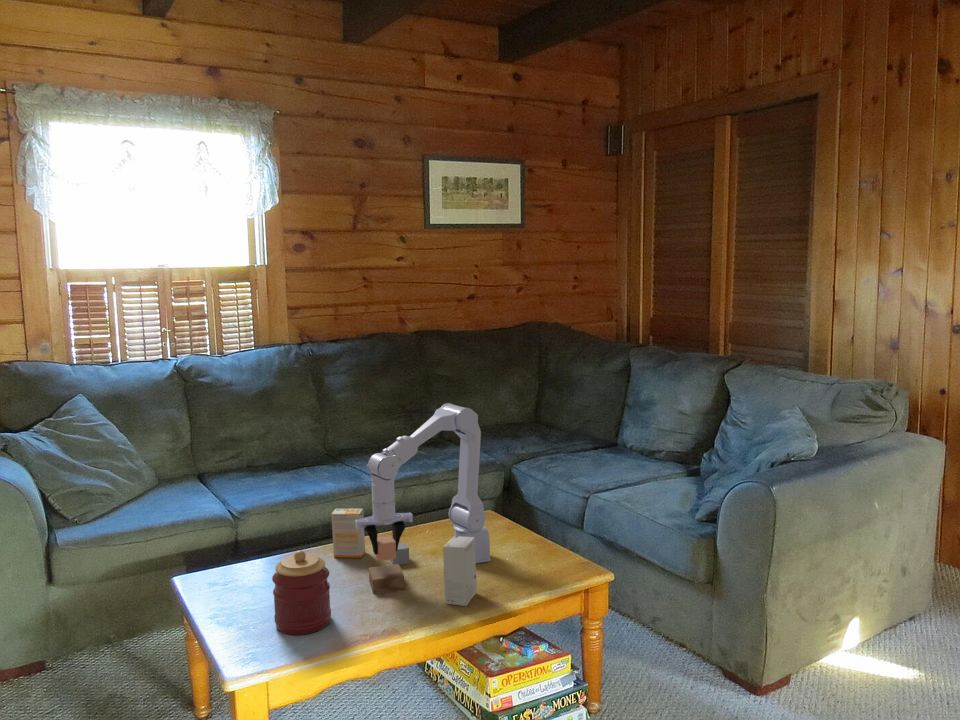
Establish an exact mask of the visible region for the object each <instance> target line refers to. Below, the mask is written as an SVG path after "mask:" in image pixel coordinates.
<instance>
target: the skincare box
mask: <svg viewBox="0 0 960 720" xmlns="http://www.w3.org/2000/svg"><path fill="white" fill-rule="evenodd" d="M442 552H443V554H442V555H443V581H444V583H443V584H444V586H443V587H444V603H445V604H447V605H456V606H460V607H467V606H468V604H469V603H470V602H471V600H472V599H473V598H474V597H475V596H476V594H477V591H478V590H477V588H478V587H477V570H476V569H477V567H476V564H477V563H476V560H475V538H474V537H461V536H452V538H451V539H449V540H448V541H447V543H445V544H444V546H442Z"/></svg>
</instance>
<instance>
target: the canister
mask: <svg viewBox="0 0 960 720" xmlns="http://www.w3.org/2000/svg"><path fill="white" fill-rule="evenodd" d="M329 576H330V570H329V568H327V567H326V561H325V560H324V559H323V558H321V557H320V556H317V555H315V554H312V553H305V551H304V550H301V549H300V550H297V551H295V553H294V554H292V555H289V556H287V557H284V558H283V559H282V560H281V561H280V562H278V563H277V564H276V565H275V572H274V573H273V575H272V577H271V580H272V582H273V583H274V588H273V590H272V595H273V601H274V616H273V617H274V624H275V626H276V629H277V630H278V631H279V632H281V633H284V634H286V635H294V636H299V635H308V634H313V633H315V632H318V631H320V630H322V629H324V628H326V626H328V625H329V624H330V622H331V616H332V608H331V597H330V588H331V584H330V582H328V577H329Z"/></svg>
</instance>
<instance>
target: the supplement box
mask: <svg viewBox="0 0 960 720" xmlns="http://www.w3.org/2000/svg"><path fill="white" fill-rule="evenodd" d="M362 518H364V508H338V507H337V508H335V509H334V510H333V511H332V512H331V530H332V544H333V545H332V546H333V558H344V559H345V558H347V559H348V558H349V559H351V558H353V559H354V558H355V559H357V558H358V559H362V558H363V556H364V555H365V553H366V538H365V527H364V528H361V529H357V528H356V525H355V520H357V519H362Z"/></svg>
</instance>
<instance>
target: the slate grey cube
mask: <svg viewBox="0 0 960 720" xmlns="http://www.w3.org/2000/svg"><path fill="white" fill-rule="evenodd" d="M389 561H390V563H391V562H392V563H391V565H395V564H402V565H406V564H405V563H408V564H410V548H409V546H408V544H407V543H406V542H399V544H398V550H397V551H396V559H391V560H389Z"/></svg>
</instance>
